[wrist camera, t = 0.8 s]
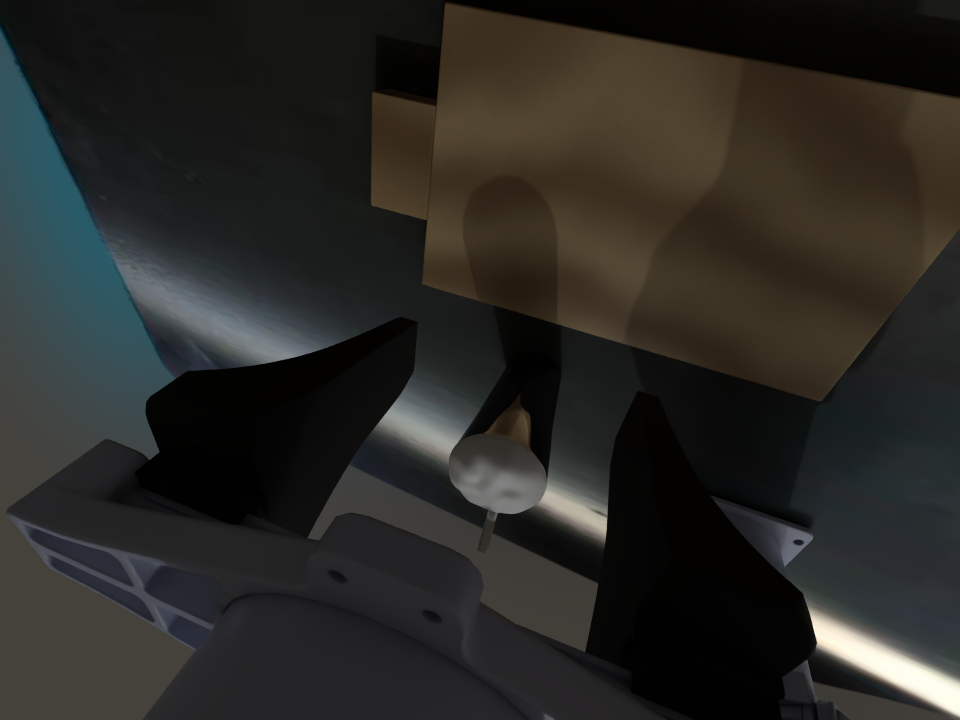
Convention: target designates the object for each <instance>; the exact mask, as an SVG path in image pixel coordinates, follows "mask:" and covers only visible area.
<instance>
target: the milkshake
mask: <svg viewBox="0 0 960 720" xmlns="http://www.w3.org/2000/svg"><path fill="white" fill-rule="evenodd" d="M560 381H561V373H560V372H559V370H558V368H557V367H556V365H555V364H554V362H553V361H552V360H550V359H548V358H546V357H544V356H542V355H540V354H538V353H529V354H520V355H518V356H517V357H516V358H515V359H514V360H513V361H512V362H510V363H509V364H508V366H507V367H506V369H505V370H504V372H503V374H502V375H501V377H500V378H499V380H498V382H497V383H496V385H495V386H494V388H493V390H492V391H491V393H490V394H489V396H488V398H487V399H486V401H485V402H484V404H483V406H482V407H481V409H480V411H479V412H478V414H477V415H476V417H475V418H474V420H473V421H472V423H471V424H470V426H469V427H468V429H467V430H466V431H465V433H464V434H463V436H462V437H461V439H460V440H459V442H458V443H457V445H456V446H455V447H454V448H453V450H452V452H451V454H450V458H449V475H450V479H451V481H452V483H453V485H454V486H455V487H456V488H458V489H459V490H460V491H461V493H462V494H463V495H464V497H465V498H466V499H467V500H468V501H470V502H471V503H473V504H476V505H478V506H481V507H483V508H485V509H487V510H488V513H487V517H486V520H485V524H484V527H483V531H482V534H481V538H480V541H479V545H478V549H477V550H478V551H480V552H483V553H486V552H487V550H488V547H489V543H490V540H491V536H492V532H493V529H494V525H495V521H496V518H497V514H498V512H499V513H507V514H515V513H519V512H522V511H525V510H527V509H529V508H531V507H533V506H534V505H536V504H537V503H538V502H539V501H540V500H541V498H542V497H543V495H544V492H545V489H546V485H547V477H548V469H549V460H550V452H551V441H552V429H553V423H554V417H555V411H556V405H557V399H558V393H559V387H560Z"/></svg>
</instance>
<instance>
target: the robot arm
mask: <svg viewBox="0 0 960 720" xmlns="http://www.w3.org/2000/svg"><path fill="white" fill-rule="evenodd" d="M417 326H418V322H416V321H413V320H410V319H407V318H403V317H399V318H396V319H394V320H392V321H389V322H387V323H385V324H383V325H380V326H378V327H376V328H374V329H372V330H369V331H367V332H365V333H363V334H360V335H358V336H356V337H353V338H351V339H348V340H346V341H343V342H341V343H338V344H335V345H333V346H330V347H328V348H325V349H322V350H319V351H316V352H312V353H309V354H305V355H302V356H298V357H294V358H290V359H285V360H280V361H276V362H271V363H266V364H260V365H253V366H247V367H238V368H229V369H216V370H199V371H187V372H185V373H184V374H182V375H181V376H179V377H178V378H176V379H175V380H174V381H172V382H171V383H169V384H168V385H166V386H165V387H163V388H162V389H161V390H159V391H158V392H156V393H155V394H153V395H152V396H150V398H149V399H148V400H147V402H146V416H147V420H148V423H149V426H150V428H151V431H152V433H153V436H154V438H155V441H156V443H157V446H158V448H159V451H160V452H159V453H158V454H157V455H155V456H154V457H153V458H152V459H151V460H149V459H148V458H147V457H146V456H145V455H143V454H142V453H140V452H138V451H136V450H134V449H131V448H129V447H126V446H124V445H121V444H119V443H116V442H114V441H111V440H107V439H105V440H103V441H102V442H100V443H99V444H98V445H96V446H95V447H94V448H92V449H91V450H89V451H88V452H87V453H85V454H84V455H82V456H81V457H79V458H78V459H77V460H75V461H74V462H72V463H71V464H70V465H68V466H67V467H65V468H64V469H63V470H61V471H60V472H58V473H57V474H55V475H54V476H53V477H51V478H50V479H49V480H47V481H46V482H44V483H43V484H41V485H40V486H39V487H37V488H36V489H34V490H33V491H32V492H30V493H29V494H27V495H26V496H25V497H23V498H22V499H20V500H19V501H17V502H16V503H15V504H13V505H12V506H10V507H9V508H8V509H7V512H6V513H7V515H8V516H9V517H10V519H11V520H12V521H13V523H14V524H15V525H16V526H17V528H18V529H19V530H20V532H21V533H22V534H23V535H24V537H25V538H26V539H27V540H28V542H29V543H30V544H31V545H32V547H33V548H34V549H35V551H36V552H37V553H38V555H39V556H40V557H41V558H42V560H43V561H44V562H45V564H46V565H47V566H48V567H49V568H50V569H51V570H53V571H55V572H57V573H60V574H61V575H63V576H65V577H68V578H70V579H72V580H74V581H76V582H78V583H80V584H82V585H83V586H85V587H87V588H89V589H91V590H93V591H95V592H97V593H99V594H100V595H102V596H104V597H106V598H107V599H109V600H111V601H113V602H114V603H116V604H118V605H119V606H121V607H123V608H125V609H126V610H128V611H130V612H131V613H133V614H135V615H136V616H138V617H140V618H141V619H143V620H145V621H147V622H148V623H150V624H151V625H153V626H155V627H157V628H158V629H160V630H162V631H163V632H165V633H166V634H168V635H170V636H171V637H173V638H175V639H176V640H178V641H180V642H181V643H183V644H185V645H186V646H188V647H190V648H191V649H193V650H195V652H194V653H193V655H192V656H191V657H190V658H189V660H188V661H187V663H186V664H185V665H184V666H183V668H182V669H181V670H180V671H179V673H178V674H177V675H176V677H175V678H174V679H173V681H172V682H171V683H170V685H169V686H168V687H167V688H166V690H165V691H164V692H163V694H162V695H161V696H160V698H159V699H158V700H157V701H156V703H155V704H154V705H153V707H152V708H151V709H150V711H149V712H148V713H147V715H146V716H145V717H144V719H143V720H852V719H851V718H849V717H848V716H847V715H846V714H844V713H843V712H842V711H841V710H839V709H838V707H837V705H836V704H835V703H833V702H832V701H828V700H818V699H817V697H816V695H815V692H814V688H813V684H812V679H811V675H810V671H809V667H808V663H807V659H808V658H809V657H810V656H811V655H812V654H813V653H814V652H815V648H816V644H817V641H816V637H815V633H814V629H813V625H812V621H811V617H810V613H809V610H808V607H807V604H806V602H805V599H804V596H803V593H802V592H801V591H800V590H798V589H797V588H796V587H795V586H794V585H793V584H792V583H791V582H790V581H789V580H788V579H787V575H786V570H785V566H786V565H787V564H788V563H789V562H790V561H791V560H792V559H793V558H794V557H795V556H796V555H797V554H798V553H799V552H800V551H801V550H802V549H803V548H804V547H805V546H806V545H807V544H808V543H809V542H810V541H811V540H812V539H813V534H812V531H811V530H810V529H808V528H806V527H803V526H800V525H797V524H794V523H791V522H788V521H785V520H782V519H779V518H776V517H773V516H771V515H768V514H765V513H762V512H759V511H756V510H753V509H750V508H747V507H744V506H741V505H738V504H735V503H732V502H729V501H726V500H723V499H720V498H717V497H714V496H712V495H710V494H709V492H708V491H707V490H706V488H705V487H704V485H703V484H702V482H701V481H700V479H699V478H698V476H697V475H696V473H695V471H694V470H693V468H692V466H691V464H690V463H689V461H688V459H687V457H686V456H685V454H684V452H683V450H682V448H681V446H680V444H679V442H678V440H677V438H676V436H675V434H674V431H673V429H672V427H671V425H670V422H669V420H668V418H667V416H666V413H665V411H664V409H663V406H662V404H661V401H660V399H659V397H657V396H654V395H651V394H647V393H644V392H641V391H637V393H636V395H635V398H634V400H633V402H632V404H631V406H630V408H629V410H628V413H627V415H626V417H625V419H624V421H623V423H622V425H621V427H620V430H619V432H618V434H617V436H616V439H615V444H614V449H613V454H612V459H611V465H610V479H609V497H608V517H607V533H606V543H605V549H604V555H603V561H602V567H601V573H600V579H599V584H598V590H597V596H596V602H595V606H594V612H593V617H592V621H591V627H590V632H589V637H588V641H587V646H586V651H585V652H583V651H581V650H578V649H576V648H573V647H571V646H568V645H566V644H564V643H561V642H559V641H556V640H554V639H552V638H549V637H547V636H544V635H541V634H539V633H537V632H534V631H532V630H530V629H527V628H525V627H522V626H520V625H517V624H515V623H513V622H512V621H510V620H509V619H507V618H506V617H504V616H502V615H501V614H499V613H498V612H496V611H494V610H493V609H491V608H490V607H488V606H487V605H485V604H483V603H482V602H480V597H481V594H482V591H483V588H484V586H483V580H482V574H481V573H480V571H479V570H478V569H477V568H476V567H475V566H474V564H473V563H472V562H471V561H470V560H469V559H468V558H467V557H465V556H463V555H461V554H460V553H458V552H456V551H454V550H453V549H451V548H448V547H445V546H443V545H441V544H438V543H436V542H433V541H430V540H428V539H425V538H423V537H420V536H418V535H415V534H413V533H410V532H408V531H405V530H403V529H400V528H397V527H395V526H392V525H389V524H387V523H385V522H382V521H380V520H377V519H374V518H372V517H370V516H365V515H361V514H356V513H347V514H343V515H340V516H336V517H335V519H334V520H333V522H332V523H331V525H330V526H329V527H328V529H327V530H326V532H325V533H324V535H323V536H322V538H321V539H320V540H319V541H318V540H313V539H308V536H309V534H310V532H311V530H312V528H313V526H314V524H315V522H316V520H317V519H318V517H319V515H320V513H321V511H322V510H323V508H324V506H325V504H326V502H327V500H328V499H329V497H330V495H331V493H332V492H333V490H334V488H335V487H336V485H337V483H338V481H339V480H340V478H341V476H342V474H343V473H344V471H345V470H346V468H347V466H348V465H349V463H350V462H351V460H352V458H353V457H354V455H355V453H356V452H357V450H358V449H359V448H360V446H361V445H362V443H363V442H364V440H365V439H366V438H367V437H368V435H369V434H370V433H371V432H372V430H373V429H374V428H375V426H376V425H377V424H378V423H379V421H380V420H381V419H382V418H383V416H384V415H385V414H386V412H387V411H388V410H389V409H390V407H391V406H392V405H393V403H394V402H395V401H396V400H397V398H398V397H399V396H400V394H401V393H402V391H403V389H404V387H405V386H406V384H407V382H408V380H409V379H410V377H411V375H412V373H413V371H414V362H415V350H416V338H417ZM796 539H798V540H796Z"/></svg>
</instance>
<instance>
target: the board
mask: <svg viewBox="0 0 960 720" xmlns="http://www.w3.org/2000/svg"><path fill="white" fill-rule="evenodd" d="M371 205H373V206H376V207H380V208H384V209H388V210H391V211H395V212H399V213H402V214H406V215H410V216H413V217H417V218H421V219H425V220H427V228H426V241H425V253H424V265H423V277H422V284H424V285H427V286H430V287H434V288H437V289H440V290H444V291H447V292H451V293H454V294H457V295H461V296H464V297H468V298H471V299H474V300H478V301H481V302H484V303H488V304H491V305H495V306H498V307H501V308H505V309H508V310H512V311H515V312H518V313H522V314H525V315H528V316H532V317H535V318H539V319H542V320H545V321H549V322H552V323H556V324H559V325H562V326H566V327H569V328H572V329H576V330H579V331H583V332H586V333H589V334H593V335H596V336H600V337H603V338H606V339H610V340H613V341H616V342H620V343H623V344H627V345H630V346H633V347H637V348H640V349H644V350H647V351H650V352H654V353H657V354H660V355H664V356H667V357H671V358H674V359H677V360H681V361H684V362H688V363H691V364H694V365H698V366H701V367H704V368H708V369H711V370H715V371H718V372H721V373H725V374H728V375H732V376H735V377H738V378H742V379H745V380H748V381H752V382H755V383H759V384H762V385H765V386H769V387H772V388H776V389H779V390H782V391H786V392H789V393H792V394H796V395H799V396H803V397H806V398H809V399H813V400H816V401H822V400H823V399H824V397H825V396H826V395H827V394H828V392H829V391H830V390H831V389H832V387H833V386H834V385H835V384H836V382H837V381H838V380H839V379H840V377H841V376H842V375H843V374H844V372H845V371H846V370H847V369H848V367H849V366H850V365H851V364H852V362H853V361H854V360H855V359H856V357H857V356H858V355H859V354H860V352H861V351H862V350H863V349H864V347H865V346H866V345H867V344H868V342H869V341H870V340H871V338H872V337H873V336H874V335H875V333H876V332H877V331H878V330H879V328H880V327H881V326H882V325H883V323H884V322H885V321H886V320H887V318H888V317H889V316H890V315H891V313H892V312H893V311H894V310H895V308H896V307H897V306H898V305H899V303H900V302H901V301H902V300H903V298H904V297H905V296H906V295H907V293H908V292H909V291H910V290H911V288H912V287H913V286H914V285H915V283H916V282H917V281H918V280H919V278H920V277H921V276H922V275H923V273H924V272H925V271H926V270H927V268H928V267H929V266H930V265H931V263H932V262H933V261H934V260H935V258H936V257H937V256H938V255H939V253H940V252H941V251H942V250H943V248H944V247H945V246H946V245H947V243H948V242H949V241H950V240H951V238H952V237H953V236H954V235H955V233H956V232H957V231H958V230H959V228H960V97H957V96H952V95H946V94H941V93H935V92H930V91H925V90H919V89H914V88H909V87H903V86H898V85H892V84H887V83H882V82H876V81H871V80H866V79H860V78H855V77H849V76H844V75H839V74H833V73H828V72H822V71H817V70H812V69H806V68H801V67H796V66H790V65H785V64H779V63H774V62H769V61H763V60H758V59H752V58H747V57H742V56H736V55H731V54H726V53H720V52H715V51H709V50H704V49H699V48H693V47H688V46H683V45H677V44H672V43H666V42H661V41H656V40H650V39H645V38H639V37H634V36H629V35H623V34H618V33H613V32H607V31H602V30H596V29H591V28H586V27H580V26H575V25H569V24H564V23H559V22H553V21H548V20H543V19H537V18H532V17H526V16H521V15H516V14H510V13H505V12H500V11H494V10H489V9H483V8H478V7H473V6H467V5H462V4H456V3H451V2H446V3H445V8H444V21H443V33H442V45H441V57H440V70H439V82H438V94H437V99H432V98H428V97H423V96H419V95H414V94H410V93H405V92H401V91H396V90H392V89H383V90H377V91H373V92H372V164H371Z"/></svg>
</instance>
